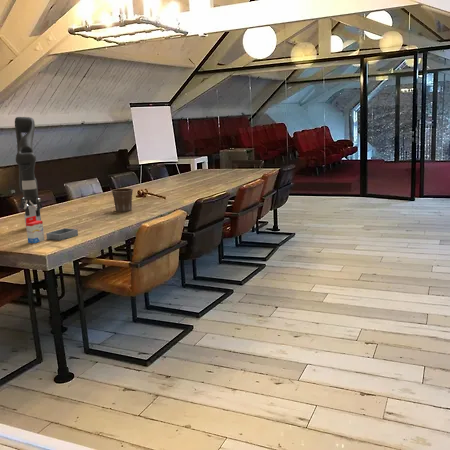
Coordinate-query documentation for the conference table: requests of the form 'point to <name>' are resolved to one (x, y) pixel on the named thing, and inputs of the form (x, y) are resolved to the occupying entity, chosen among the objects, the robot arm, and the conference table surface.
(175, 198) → the conference table surface
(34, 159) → the robot arm
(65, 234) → the tray
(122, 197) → the plant pot
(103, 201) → the conference table surface
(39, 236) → the ink box
